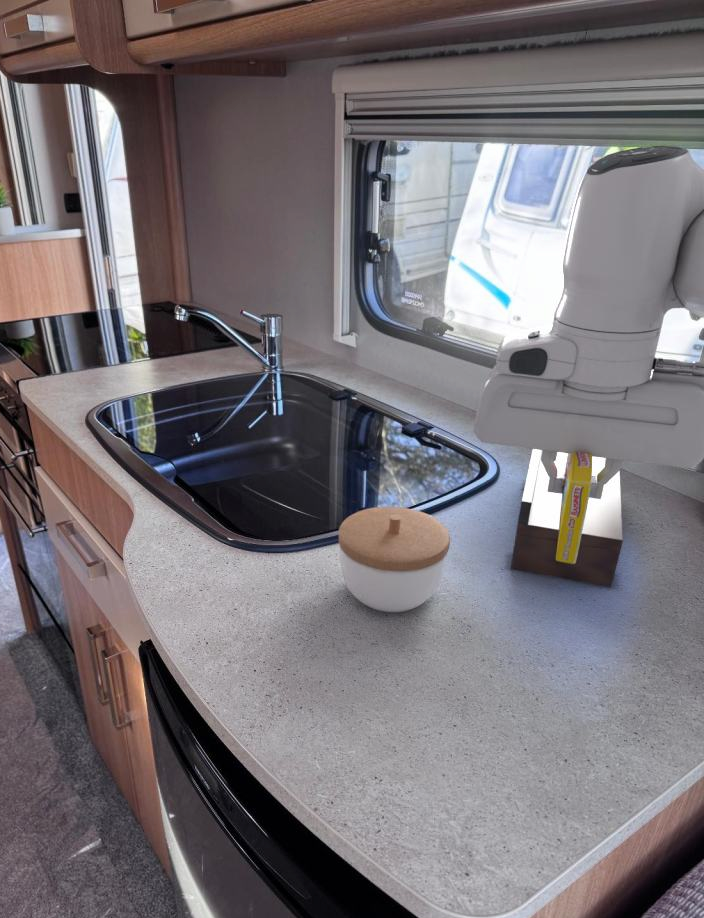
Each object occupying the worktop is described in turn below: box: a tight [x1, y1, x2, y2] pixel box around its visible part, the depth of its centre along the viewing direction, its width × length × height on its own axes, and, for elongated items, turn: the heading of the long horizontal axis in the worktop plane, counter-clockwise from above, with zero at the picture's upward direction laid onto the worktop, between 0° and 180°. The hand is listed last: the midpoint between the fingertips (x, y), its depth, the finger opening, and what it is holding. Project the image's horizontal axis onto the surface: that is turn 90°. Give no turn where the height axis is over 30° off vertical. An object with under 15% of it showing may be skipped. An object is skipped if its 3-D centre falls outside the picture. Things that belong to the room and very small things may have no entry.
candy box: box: [556, 452, 592, 564], centre depth 70 cm, size 16×2×8 cm, turn 161°
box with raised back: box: [509, 449, 624, 588], centre depth 98 cm, size 12×26×10 cm, turn 161°
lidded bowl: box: [338, 506, 451, 613], centre depth 84 cm, size 13×13×11 cm
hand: (573, 493), depth 70 cm, fingers closed on candy box, 2 cm apart
